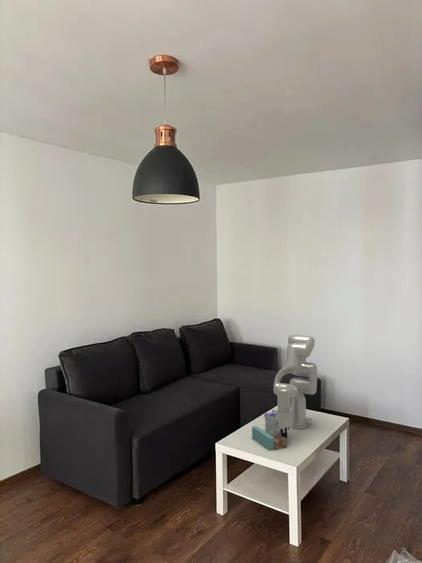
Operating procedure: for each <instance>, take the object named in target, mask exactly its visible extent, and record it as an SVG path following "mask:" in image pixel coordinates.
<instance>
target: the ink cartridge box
mask: <svg viewBox="0 0 422 563" xmlns="http://www.w3.org/2000/svg"><path fill="white" fill-rule="evenodd" d="M276 411H277V410H274V409H273V410H272V411H271V412H268V413H266V414H265V416H264V418H265V424H264V426H265V428H264V429H265V430H264V431H265V432H266V433H268V434H270V435H271V436H273V435H278V434H279V435H281V436H282V432H281V431H277V430H276V429H277V427H276V426H275V416H276Z"/></svg>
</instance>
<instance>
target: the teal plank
mask: <svg viewBox="0 0 422 563" xmlns="http://www.w3.org/2000/svg"><path fill="white" fill-rule="evenodd" d="M251 437H252V440H254V441H256V442H257V443H259V444H260V445H261V446H263V447H265V448H266V449H267V450H269V451H274V450H275V449H274V437H273V435H270V434H268V433H266V432H265V430H263V429H262V428H260V427H259V426H257V425H253V426H251Z"/></svg>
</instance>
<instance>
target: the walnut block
mask: <svg viewBox="0 0 422 563" xmlns="http://www.w3.org/2000/svg"><path fill="white" fill-rule="evenodd" d="M272 436H273V437H274V450H275V451H278V450H282V449H285V448H288V438H287V439H286V438H284V437H283V436H282V435H279V434H278V435H272Z"/></svg>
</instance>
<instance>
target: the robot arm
mask: <svg viewBox="0 0 422 563" xmlns="http://www.w3.org/2000/svg"><path fill="white" fill-rule="evenodd" d="M287 337H288V338H287V343H288V345H287V347H286V351H285V352H286V353H285V357H284V358H285V359H284V363H283V367H282V368H281V369H279V371H278V372H277V373H276V375H275V378H274V382H273V393H274V394H275V395H276V396H277V397H276V398H277V410H275V411H276V412H275V413H276V416H275V426H276V427H277V429H276V430H277V431H281V432H282V435H281V436H283V437H284V438H286V439H287V440H288V433H289V430H290V429H297V430H303V429H307V428H308V427H309V422H312V421H313V419H312V418H311V417H309V418H308V417H307V415H306V414H307V412H306V411H307V406H306V405H307V402H306V401H307V400H306V397H305V395H312V396H313V395H315V394H316V393H317V387H318V366H317V364H316V363H314V362H308V361H307V358H309V357H310V356H311V354H312V352H313V350H314V348H315V345H316V343H315V342H316V341H315V338H314V337H313V336H309V335H298V334H294V335H289V336H287ZM290 373H292V374H293V375H294V376H295V377H294V378H291V379H290V381H289V383H283V382H281V381H282V378H283V377H284V376H286V375H288V374H290ZM296 376H298V377H296ZM302 377H306V378H302Z"/></svg>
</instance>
